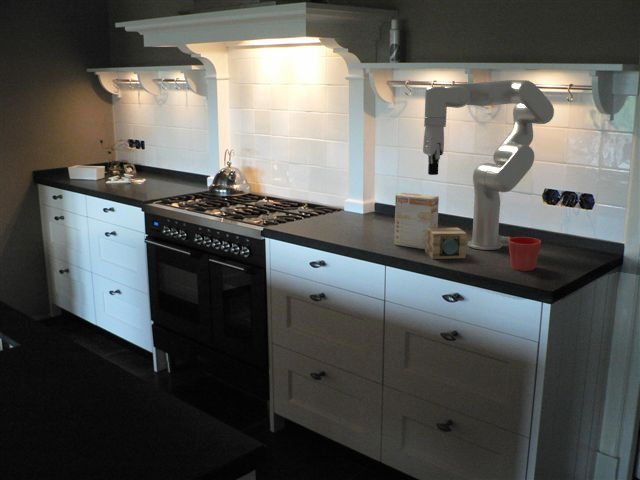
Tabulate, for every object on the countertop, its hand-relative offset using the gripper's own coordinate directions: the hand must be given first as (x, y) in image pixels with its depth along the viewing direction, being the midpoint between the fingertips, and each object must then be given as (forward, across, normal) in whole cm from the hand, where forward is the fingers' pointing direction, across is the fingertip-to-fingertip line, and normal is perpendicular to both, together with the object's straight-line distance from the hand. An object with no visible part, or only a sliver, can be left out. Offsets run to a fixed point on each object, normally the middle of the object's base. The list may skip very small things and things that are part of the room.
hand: (433, 174), depth 253 cm
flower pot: (+29, +23, +26) cm, 45 cm away
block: (+29, +3, +5) cm, 30 cm away
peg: (+27, +3, +5) cm, 28 cm away
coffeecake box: (+29, -12, -2) cm, 32 cm away
